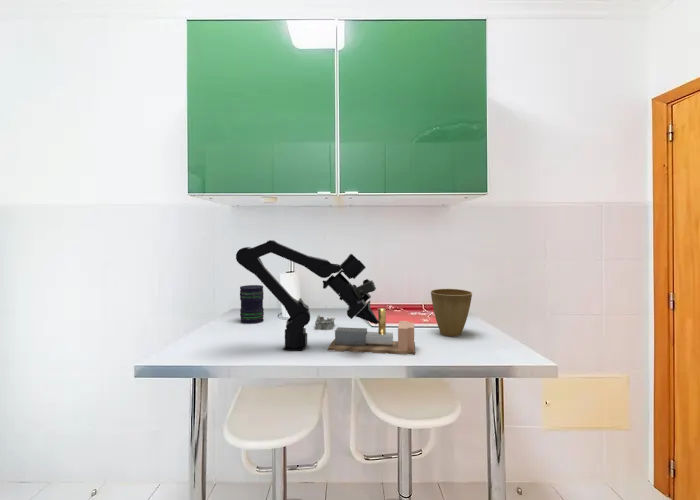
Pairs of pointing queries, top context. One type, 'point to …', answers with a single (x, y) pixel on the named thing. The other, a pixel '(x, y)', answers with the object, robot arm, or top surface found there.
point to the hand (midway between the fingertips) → (377, 323)
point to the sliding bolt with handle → (380, 331)
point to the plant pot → (451, 310)
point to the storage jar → (251, 304)
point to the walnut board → (372, 348)
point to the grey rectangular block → (350, 336)
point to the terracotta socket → (405, 336)
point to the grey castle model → (324, 323)
